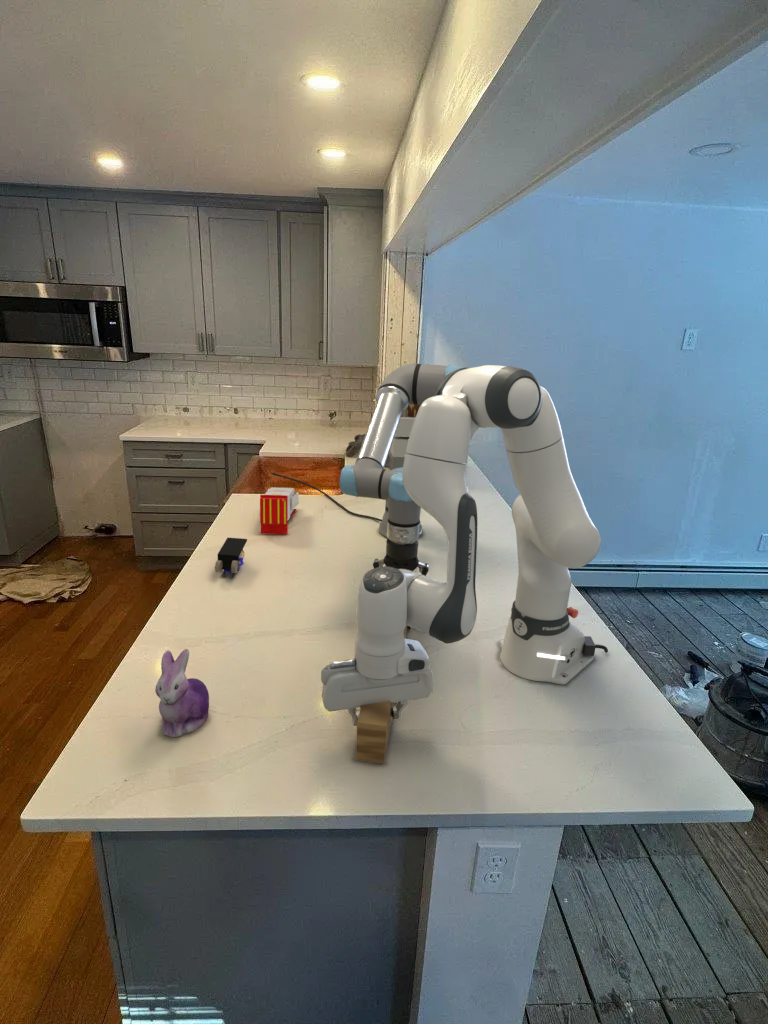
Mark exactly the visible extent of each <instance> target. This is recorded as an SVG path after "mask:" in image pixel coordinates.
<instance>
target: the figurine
mask: <svg viewBox="0 0 768 1024" xmlns="http://www.w3.org/2000/svg"><path fill="white" fill-rule="evenodd" d="M189 658H190V649H187V648H184V649H183V650H182V651H181V652H180V654H179V655H178V656H177V657H176V659H175V658H174V656H173V652H171V651H170V650H167V649H166V651H165V652H163V654H162V657H161V663H160V665H161V668H160V669H161V674H160V676H159V678H158V680H157V682H156V684H155V688H154V689H155V694H156V696H157V697H158V698H159V703H158V712H159V714H160V716H161V720H162V727H161V733H162V734H163V735H164V736H168V737H171V738H179V737H181V736H183V735H184V734H191V733H192V732H194V731H196V730H197V729H199V728H201V726H203V725H204V724H205V723H207V721H208V718H209V709H210V695H209V690H208V687H207V685H206V684H205V683H204V682H203V681H202V680H200V679H198V678H195V677H194V678H191V677H190V678H187V676H186V673H185V672H186V669H187V665H188V662H189Z"/></svg>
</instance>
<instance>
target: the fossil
mask: <svg viewBox="0 0 768 1024" xmlns="http://www.w3.org/2000/svg"><path fill="white" fill-rule="evenodd" d="M365 435H366V433H363V434H361V433H360V434H356V435H355V436H354V441H349V442H348V445H347V447H346V449H345V455H346V457H348V458H351V457H354V456H356V455H358V454H359V451H360V448H361V446H362V443H363V440H364V437H365Z"/></svg>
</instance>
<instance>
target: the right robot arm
mask: <svg viewBox="0 0 768 1024" xmlns="http://www.w3.org/2000/svg"><path fill="white" fill-rule="evenodd" d="M479 428H480V429H485V428H495V429H496V428H500V430H501V433H502V438H503V442H504V447H505V451H506V455H507V460H508V464H509V466H510V472H511V476H512V479H513V483H514V486H515V488H516V489H517V491H518V493H519V495H518V496H517V497H516V498H515V500H514V501H513V504H512V506H511V517H512V520H513V524H514V529H515V536H516V550H517V551H516V552H517V562H518V575H517V584H516V591H515V599H514V600H513V602H512V606H511V610H510V611H511V613H510V616H509V618H508V621H507V626H506V630H505V633H504V637H503V638H502V639H501V640H500V643H499V645H500V649H501V651H500V655H499V660H500V662H501V664H502V665H503V667H505V669H506V670H507V671H508V672H510V673H512V674H514V675H516V676H518V677H520V678H522V679H525V680H530V681H535V682H549V683H553V684H557V685H563V686H564V685H567V684H568V683H569V682H571V680H572V679H574V678H575V677H576V676H577V675H578V674H579V673H580V672H581V671H582V670H584V669H585V668H586V667H587V666H588V665H590V663H592V662H593V661H594V657H595V653H596V649H600V650H603V651H604V652H605V654H607V653H608V652H609V648H608V647H607V646H606V645H603V644H596V643H595V641H594V640H593V638H592V636H587V635H585V634H584V633H583V631H582V630H581V629H580V628H578V627H577V626H576V625H574V624H573V623H572V622H571V621H570V618H572V619H576V618H577V617H578V615H579V610H578V609H576V608H574V607H572V606H570V607H568V605H569V599H570V593H571V586H572V576H571V573H570V570H569V569H580V568H583V567H585V566H587V565H588V564H591V562H592V561H593V560H594V559H595V558H596V557H597V555H598V553H599V552H600V550H601V547H602V546H601V545H602V538H601V535H600V532H599V530H598V529H597V527H596V526H595V524H594V522H593V521H592V519H591V516H590V515H589V513H588V511H587V508H586V506H585V503H584V500H583V498H582V495H581V492H580V491H579V489H578V486H577V484H576V482H575V479H574V476H573V474H572V470H571V467H570V462H569V459H568V454H567V449H566V444H565V439H564V436H563V431H562V426H561V423H560V419H559V415H558V413H557V410H556V407H555V404H554V402H553V400H552V397H551V395H550V393H549V391H547V388H544V387H543V386H541V384H540V381H538V379H537V378H536V377H535V375H534V374H533V373H532V372H530V371H529V370H527V369H526V368H523V367H520V366H515V365H507V366H505V365H495V364H494V365H493V364H486V365H485V364H484V365H481V366H473V367H462V368H461V369H457V370H455V371H452V372H451V373H449V374H448V375H447V376H445V378H444V379H443V380H442V382H441V383H440V385H439V387H438V390H437V393H436V394H435V395H434V396H433V397H430V398H428V399H426V400H425V401H424V402H423V403H422V404H421V406H420V408H419V410H418V413H417V415H416V418H415V420H414V423H413V426H412V430H411V433H410V437H409V440H408V445H407V449H406V454H405V459H404V465H403V474H402V477H403V485H404V487H405V489H406V491H407V493H408V495H409V496H410V497H411V499H412V500H413V501H414V502H415V503H416V504H417V505H418V506H419V507H421V509H422V510H423V511H424V512H426V513H427V514H429V515H430V516H431V517H432V518H433V519H434V520H436V522H438V523H439V525H440V526H441V527H442V528H443V530H444V532H445V534H446V538H447V565H446V582H445V581H441V580H438V579H436V578H433V577H430V576H427V575H426V576H425V575H422V574H421V573H420V572H417V571H410V570H406V569H396V568H393V567H386V565H385V566H384V565H383V567H377V568H374V567H373V568H371V569H369V570H367V572H365V573H364V574H363V576H362V578H361V580H360V583H359V587H358V592H357V597H356V604H355V605H356V606H355V607H356V608H355V624H356V627H357V632H356V635H355V639H354V658H351V659H344V660H341V661H335V660H334V661H330V662H329V664H326V665H325V666H324V667H323V668H322V669H321V673H320V674H321V676H320V680H321V683H322V688H321V699H322V704H323V707H324V709H325V710H326V711H327V712H330V713H331V712H339V711H345V710H347V712H348V714H349V716H351V722H352V725H353V726H354V727H355V726H356V727H357V721H358V717H359V713H360V711H357V709H358V708H359V709H361V705H366V704H373V703H380V702H387V701H391V703H394V702H395V703H396V704H395V703H394V704H395V705H394V706H393V707H391V716H392V720H400V719H402V712H403V711H404V710H405V708H406V707H407V706H408V704H409V701H414V700H422V699H426V698H427V699H428V698H429V697H430V696H431V695H432V694H433V691H434V675H433V671H432V669H431V668H430V667H431V659H430V656H429V655H428V652H427V651H426V648H425V647H424V646H423V645H422V643H421V642H420V641H419V640H415V639H410V638H406V639H405V637H404V629H405V627H406V626H409V627H410V628H412V629H415V630H417V631H419V632H422V633H424V634H427V635H429V636H430V637H431V638H434V639H436V640H437V641H440V642H442V643H443V644H446V645H449V644H454V643H457V642H460V641H461V640H463V639H466V638H467V637H469V636H470V634H471V633H472V631H473V629H474V627H475V625H476V620H477V615H478V614H477V613H478V604H477V603H478V602H477V593H476V577H477V576H476V574H477V553H478V551H477V549H478V507H477V502H476V500H475V498H474V497H472V496H471V495H470V493H469V490H468V486H467V479H466V478H467V477H466V475H467V473H466V472H467V471H466V470H467V464H468V460H469V454H470V447H471V446H470V445H471V441H472V438H473V437H474V435H475V433H476V432H477V431H478V429H479ZM409 453H410V454H409ZM569 616H570V617H569Z"/></svg>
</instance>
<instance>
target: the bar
mask: <svg viewBox="0 0 768 1024" xmlns="http://www.w3.org/2000/svg"><path fill="white" fill-rule="evenodd" d="M407 632H408V629H407V626H406V627H405V629H404V637H405V639H407ZM395 703H396V702H394V703H391V701H387V702H380V703H373V704H366V705H361V707H360V708H359V712H360V713H359V717H358V721H357V725H356V742H355V743H356V744H355V760H356V761H362V762H370V763H377V764H385V760H386V755H387V749H388V742H389V738H390V731H391V726H392V720H393V717H392V716H391V707H393V706H395Z"/></svg>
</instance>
